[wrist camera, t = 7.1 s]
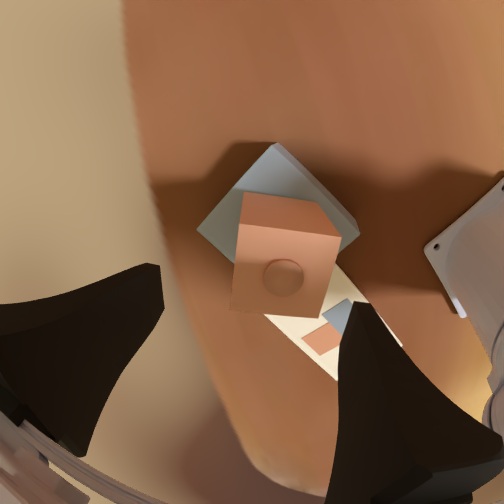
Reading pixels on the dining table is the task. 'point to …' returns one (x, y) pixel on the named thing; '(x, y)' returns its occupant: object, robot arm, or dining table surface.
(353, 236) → the base brick
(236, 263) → the top brick
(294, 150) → the dining table surface
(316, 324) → the page
